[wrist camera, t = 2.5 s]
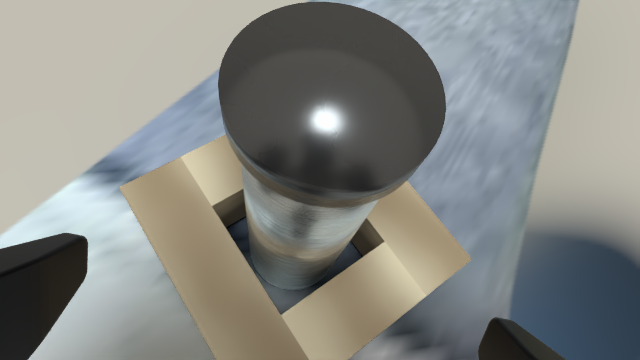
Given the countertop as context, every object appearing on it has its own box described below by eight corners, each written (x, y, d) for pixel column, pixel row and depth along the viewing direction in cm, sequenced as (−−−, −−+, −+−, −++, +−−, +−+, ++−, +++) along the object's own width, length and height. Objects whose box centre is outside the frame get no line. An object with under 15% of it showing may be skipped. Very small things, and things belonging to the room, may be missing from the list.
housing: (257, 420, 17) (257, 432, 14) (141, 215, 20) (119, 187, 17) (439, 275, 21) (471, 259, 18) (318, 121, 24) (327, 84, 21)
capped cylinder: (278, 317, 19) (306, 237, 7) (225, 232, 20) (174, 49, 9) (360, 259, 21) (490, 118, 9) (305, 184, 22) (355, -23, 10)
